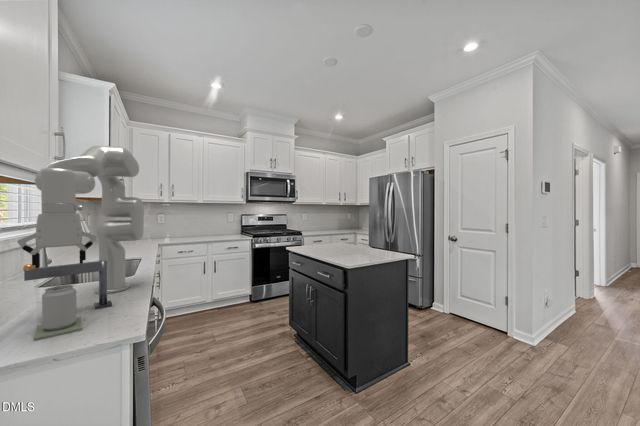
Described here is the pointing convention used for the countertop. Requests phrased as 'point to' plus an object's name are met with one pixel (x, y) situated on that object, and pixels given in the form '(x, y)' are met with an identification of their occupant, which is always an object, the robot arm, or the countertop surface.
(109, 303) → the clip base
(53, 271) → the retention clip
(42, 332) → the mat
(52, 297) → the can
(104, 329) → the countertop surface
